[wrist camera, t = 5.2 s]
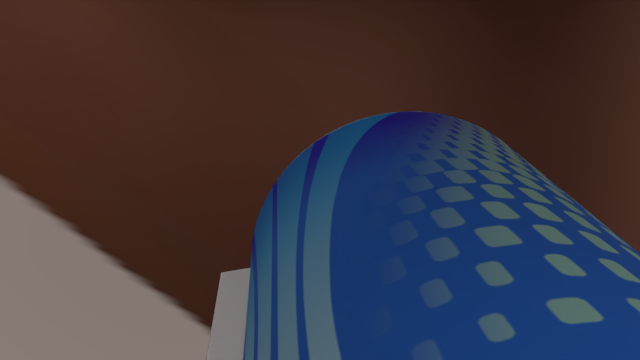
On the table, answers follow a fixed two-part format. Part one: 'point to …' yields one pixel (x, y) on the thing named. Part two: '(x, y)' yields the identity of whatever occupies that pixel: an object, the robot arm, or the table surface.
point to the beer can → (433, 254)
